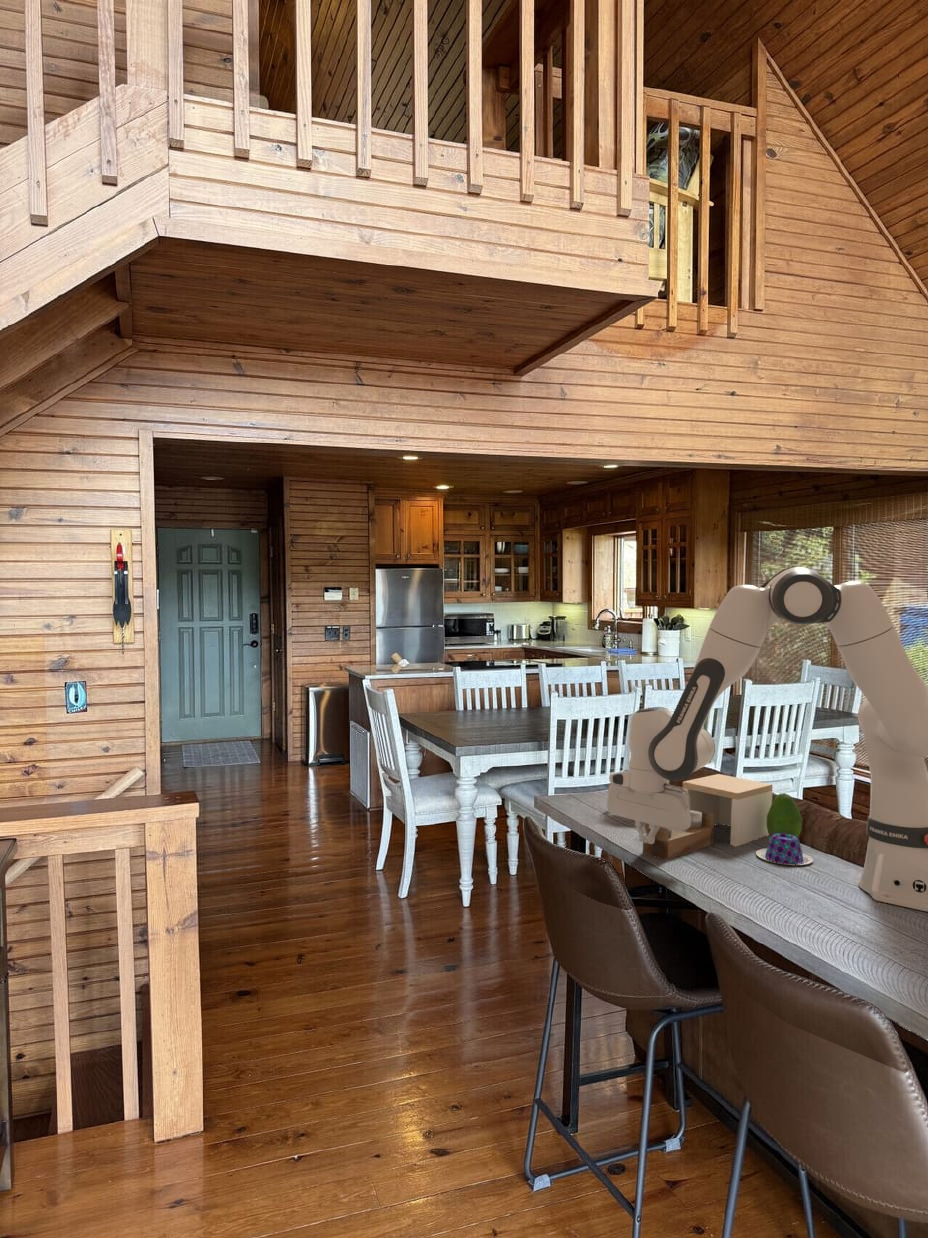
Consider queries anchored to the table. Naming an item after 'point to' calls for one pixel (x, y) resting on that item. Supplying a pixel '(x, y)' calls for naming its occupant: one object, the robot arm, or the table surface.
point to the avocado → (784, 816)
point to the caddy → (682, 837)
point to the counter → (733, 804)
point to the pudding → (784, 850)
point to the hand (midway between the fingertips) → (646, 842)
